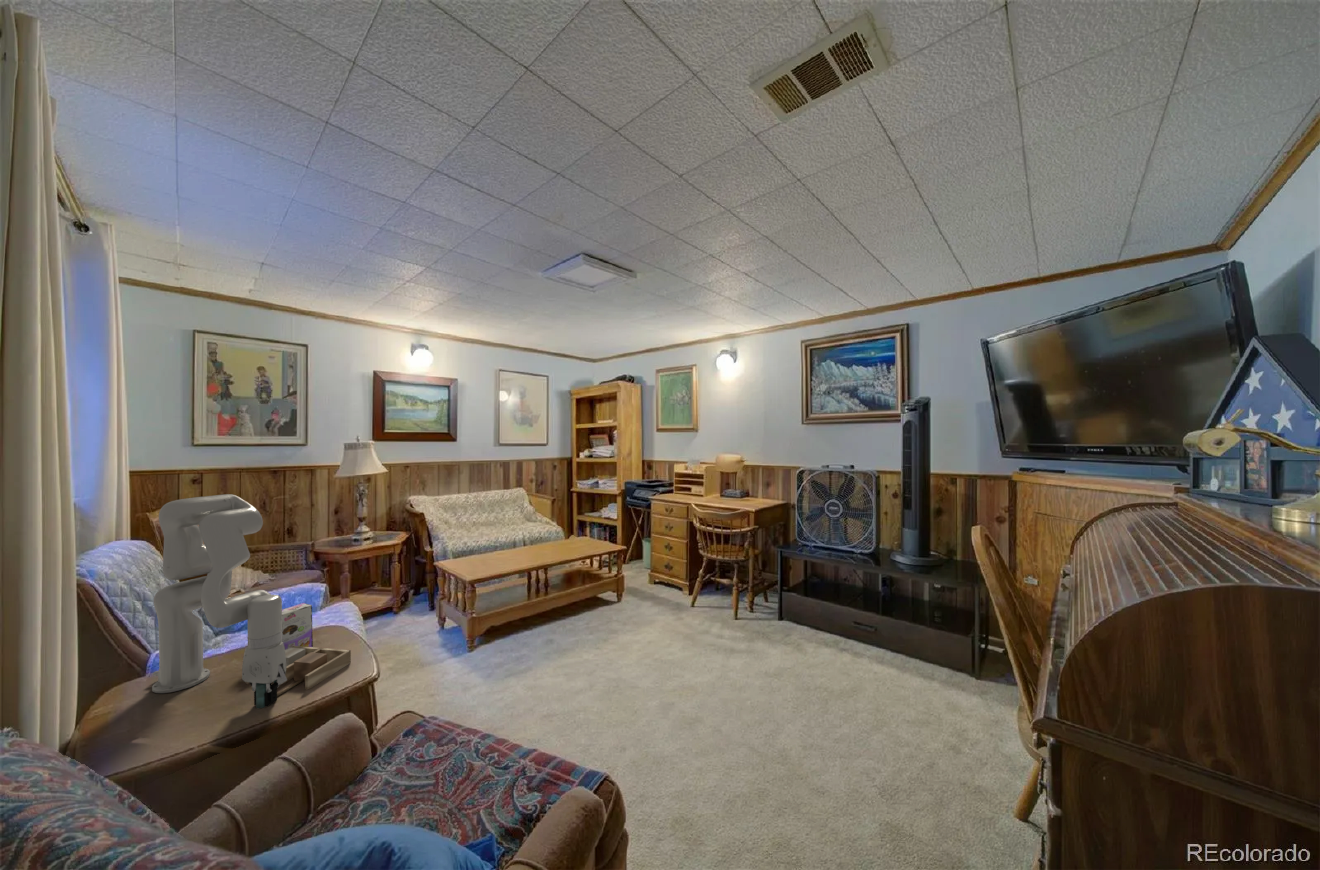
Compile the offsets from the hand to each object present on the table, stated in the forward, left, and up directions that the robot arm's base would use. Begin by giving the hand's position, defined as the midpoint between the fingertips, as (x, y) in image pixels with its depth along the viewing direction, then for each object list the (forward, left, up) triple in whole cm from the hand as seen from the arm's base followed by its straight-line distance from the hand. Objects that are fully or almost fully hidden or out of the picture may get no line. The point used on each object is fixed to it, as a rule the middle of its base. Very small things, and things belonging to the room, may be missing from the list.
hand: (265, 702), depth 131 cm
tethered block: (0, +8, -1) cm, 8 cm away
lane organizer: (-5, +16, -1) cm, 17 cm away
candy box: (-21, +26, -1) cm, 34 cm away
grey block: (-10, +17, -1) cm, 20 cm away
